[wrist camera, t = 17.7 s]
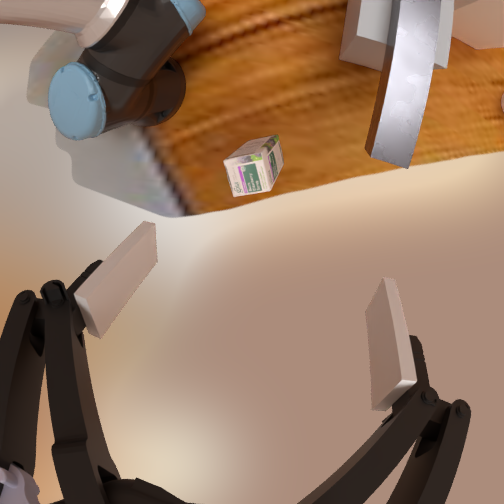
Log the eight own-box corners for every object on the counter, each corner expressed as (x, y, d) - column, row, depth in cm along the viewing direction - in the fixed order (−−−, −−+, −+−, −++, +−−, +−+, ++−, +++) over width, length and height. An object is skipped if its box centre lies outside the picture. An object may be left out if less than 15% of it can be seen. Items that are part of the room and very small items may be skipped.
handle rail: (364, 148, 24) (370, 157, 21) (396, -71, 9) (404, -85, 6) (398, 158, 24) (408, 169, 21) (429, -59, 9) (440, -70, 6)
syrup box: (285, 164, 51) (273, 191, 39) (254, 169, 52) (232, 198, 40) (278, 134, 48) (263, 151, 36) (246, 140, 50) (221, 160, 38)
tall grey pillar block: (338, 59, 38) (356, 35, 18) (349, -9, 30) (368, -71, 10) (389, 74, 37) (446, 68, 17) (400, 7, 29) (454, -39, 10)
